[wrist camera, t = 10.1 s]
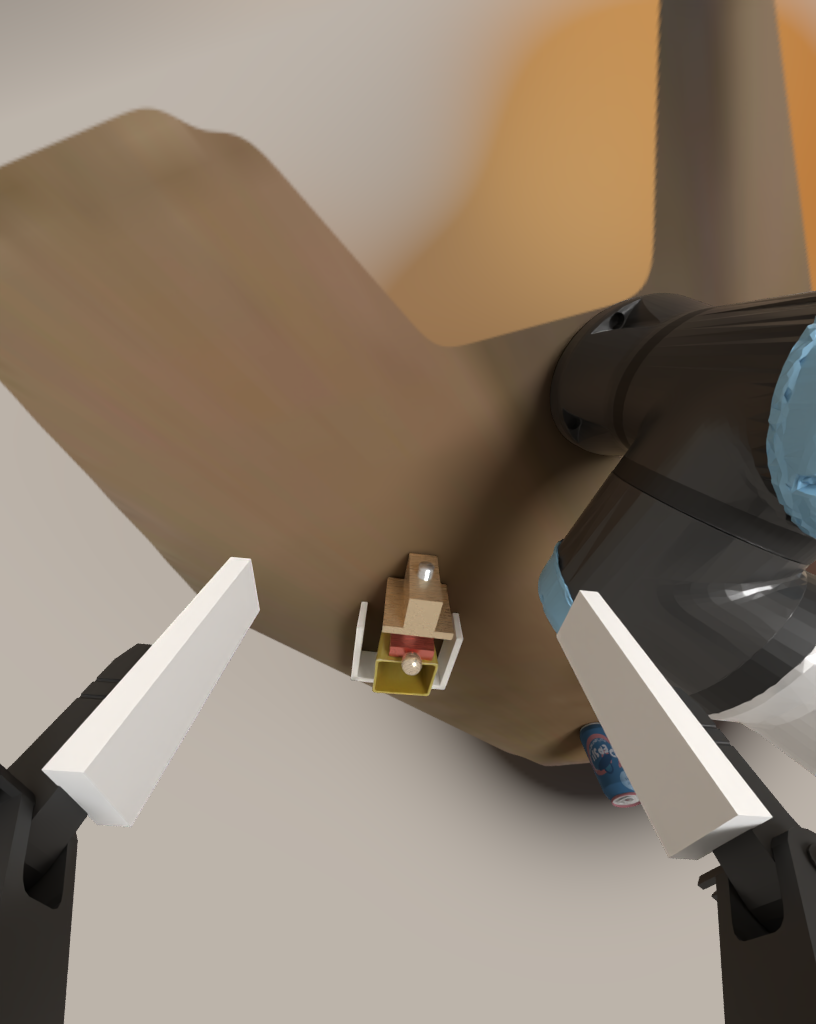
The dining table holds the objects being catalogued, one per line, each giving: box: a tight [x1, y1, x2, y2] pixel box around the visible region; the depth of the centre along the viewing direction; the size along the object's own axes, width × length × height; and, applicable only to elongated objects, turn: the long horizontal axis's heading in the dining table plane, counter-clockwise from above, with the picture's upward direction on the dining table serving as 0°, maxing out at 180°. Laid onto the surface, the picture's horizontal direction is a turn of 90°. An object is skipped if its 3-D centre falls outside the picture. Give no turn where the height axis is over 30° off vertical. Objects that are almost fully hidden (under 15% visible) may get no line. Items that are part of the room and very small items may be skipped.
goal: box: [351, 602, 463, 690], centre depth 49 cm, size 16×13×5 cm
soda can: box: [580, 722, 641, 807], centre depth 60 cm, size 7×7×12 cm
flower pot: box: [372, 632, 438, 696], centre depth 46 cm, size 9×9×9 cm
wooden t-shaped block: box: [382, 553, 454, 675], centre depth 40 cm, size 9×13×11 cm
